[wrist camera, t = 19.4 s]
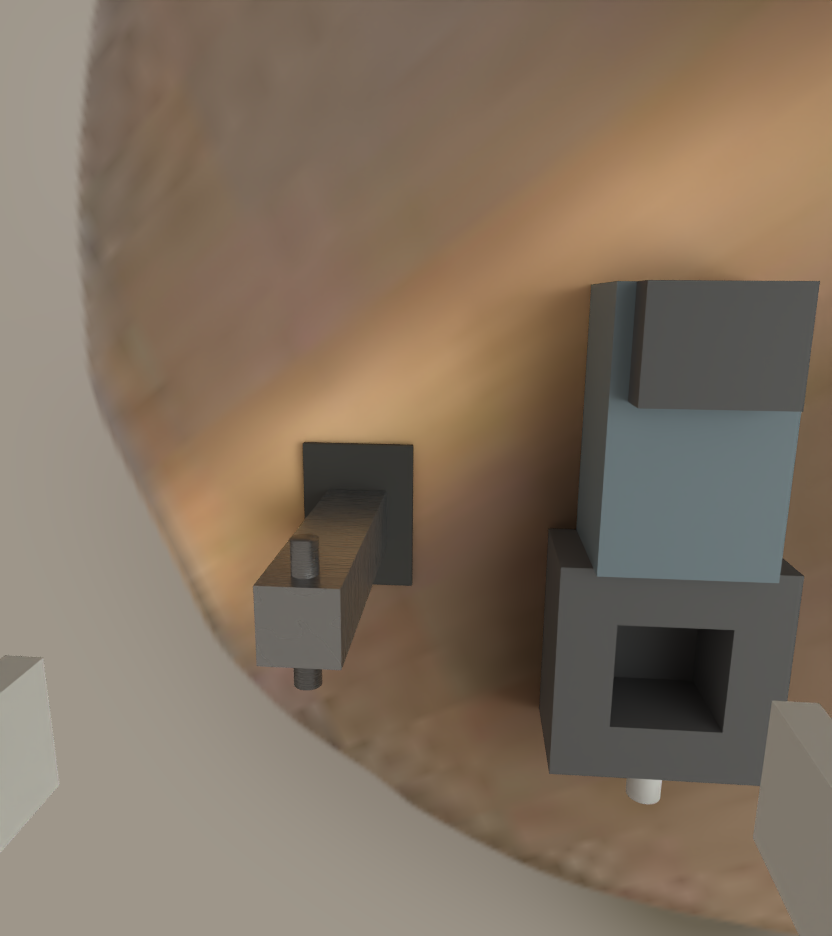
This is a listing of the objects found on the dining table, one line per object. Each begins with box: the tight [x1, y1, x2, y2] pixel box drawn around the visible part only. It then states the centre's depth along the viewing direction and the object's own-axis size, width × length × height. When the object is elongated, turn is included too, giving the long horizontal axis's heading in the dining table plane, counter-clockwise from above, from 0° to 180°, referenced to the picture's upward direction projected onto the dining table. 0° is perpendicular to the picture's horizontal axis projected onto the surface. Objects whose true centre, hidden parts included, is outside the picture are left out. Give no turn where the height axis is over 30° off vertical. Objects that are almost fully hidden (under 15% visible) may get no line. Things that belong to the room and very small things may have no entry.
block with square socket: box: [539, 280, 820, 804], centre depth 35 cm, size 27×11×9 cm, turn 179°
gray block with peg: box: [253, 489, 387, 690], centre depth 34 cm, size 3×6×14 cm, turn 0°
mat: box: [303, 442, 413, 586], centre depth 41 cm, size 8×6×1 cm
